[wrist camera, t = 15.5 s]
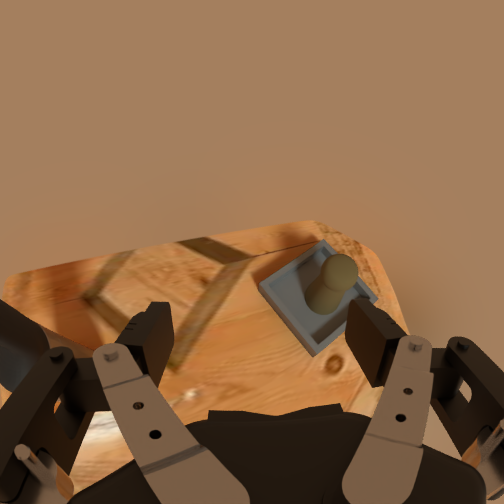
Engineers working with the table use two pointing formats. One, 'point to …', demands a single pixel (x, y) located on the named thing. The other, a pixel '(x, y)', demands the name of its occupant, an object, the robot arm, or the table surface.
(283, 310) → the tray
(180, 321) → the table surface
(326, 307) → the cork
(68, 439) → the robot arm
